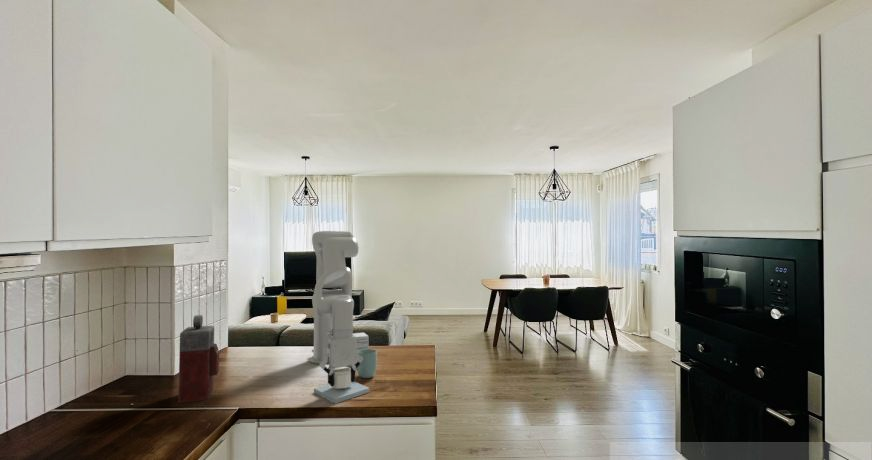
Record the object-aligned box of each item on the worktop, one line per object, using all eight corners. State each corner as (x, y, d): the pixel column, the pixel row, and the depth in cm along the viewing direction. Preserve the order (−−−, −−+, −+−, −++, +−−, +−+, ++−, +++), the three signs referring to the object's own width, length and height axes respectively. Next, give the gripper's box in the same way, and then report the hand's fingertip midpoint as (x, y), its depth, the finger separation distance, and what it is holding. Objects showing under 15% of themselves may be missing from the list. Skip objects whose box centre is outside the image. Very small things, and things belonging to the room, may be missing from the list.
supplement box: (348, 362, 176) (348, 333, 177) (364, 360, 179) (364, 332, 180) (351, 366, 170) (352, 337, 170) (368, 364, 173) (369, 335, 173)
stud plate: (313, 392, 140) (314, 376, 140) (347, 382, 150) (347, 368, 151) (335, 403, 131) (335, 386, 131) (369, 392, 141) (369, 376, 141)
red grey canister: (216, 398, 135) (217, 316, 136) (178, 402, 131) (180, 318, 132) (220, 389, 144) (221, 312, 144) (184, 393, 140) (186, 313, 140)
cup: (366, 381, 151) (366, 355, 152) (352, 377, 156) (352, 352, 156) (380, 376, 158) (380, 351, 158) (367, 372, 162) (367, 347, 163)
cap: (350, 387, 138) (351, 371, 139) (332, 389, 137) (332, 373, 137) (350, 381, 145) (350, 366, 145) (332, 382, 143) (332, 367, 143)
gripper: (321, 338, 133) (320, 391, 133) (368, 332, 143) (368, 381, 142) (314, 334, 140) (314, 384, 139) (360, 328, 149) (360, 375, 149)
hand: (341, 382), depth 141 cm, fingers closed on cap, 6 cm apart
